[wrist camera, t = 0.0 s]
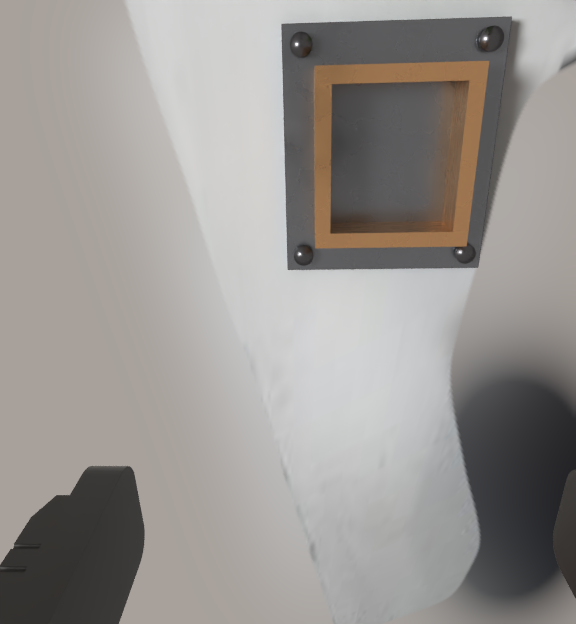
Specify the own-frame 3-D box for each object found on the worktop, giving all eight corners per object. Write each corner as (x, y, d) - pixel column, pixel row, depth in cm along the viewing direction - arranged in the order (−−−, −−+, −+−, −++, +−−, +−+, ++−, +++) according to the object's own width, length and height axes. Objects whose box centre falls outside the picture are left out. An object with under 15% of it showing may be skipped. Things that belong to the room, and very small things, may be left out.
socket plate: (282, 25, 32) (279, 17, 28) (505, 18, 31) (532, 8, 28) (288, 265, 38) (286, 283, 35) (473, 263, 38) (492, 281, 34)
